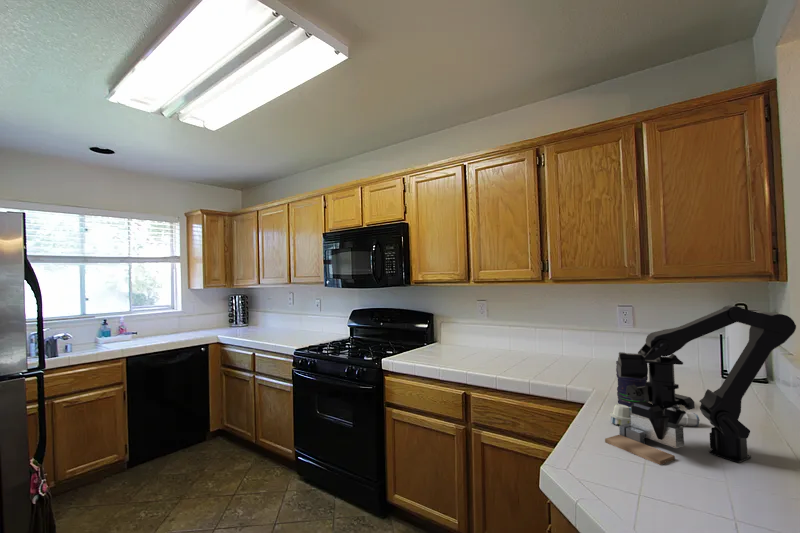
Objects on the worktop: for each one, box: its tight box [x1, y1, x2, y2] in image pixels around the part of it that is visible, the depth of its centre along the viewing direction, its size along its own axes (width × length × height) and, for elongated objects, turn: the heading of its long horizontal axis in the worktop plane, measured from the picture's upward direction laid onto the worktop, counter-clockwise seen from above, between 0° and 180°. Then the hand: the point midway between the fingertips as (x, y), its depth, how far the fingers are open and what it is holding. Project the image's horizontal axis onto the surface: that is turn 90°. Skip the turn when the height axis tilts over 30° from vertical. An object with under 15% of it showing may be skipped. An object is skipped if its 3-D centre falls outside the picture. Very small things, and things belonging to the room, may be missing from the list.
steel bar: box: [630, 414, 685, 449], centre depth 106 cm, size 12×4×5 cm, turn 25°
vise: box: [618, 423, 646, 445], centre depth 110 cm, size 6×9×4 cm
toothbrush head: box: [609, 403, 701, 427], centre depth 120 cm, size 5×7×25 cm
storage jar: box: [615, 360, 649, 407], centre depth 140 cm, size 10×10×15 cm
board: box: [604, 434, 676, 466], centre depth 103 cm, size 15×6×1 cm, turn 25°
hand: (664, 437), depth 104 cm, fingers closed on steel bar, 3 cm apart
